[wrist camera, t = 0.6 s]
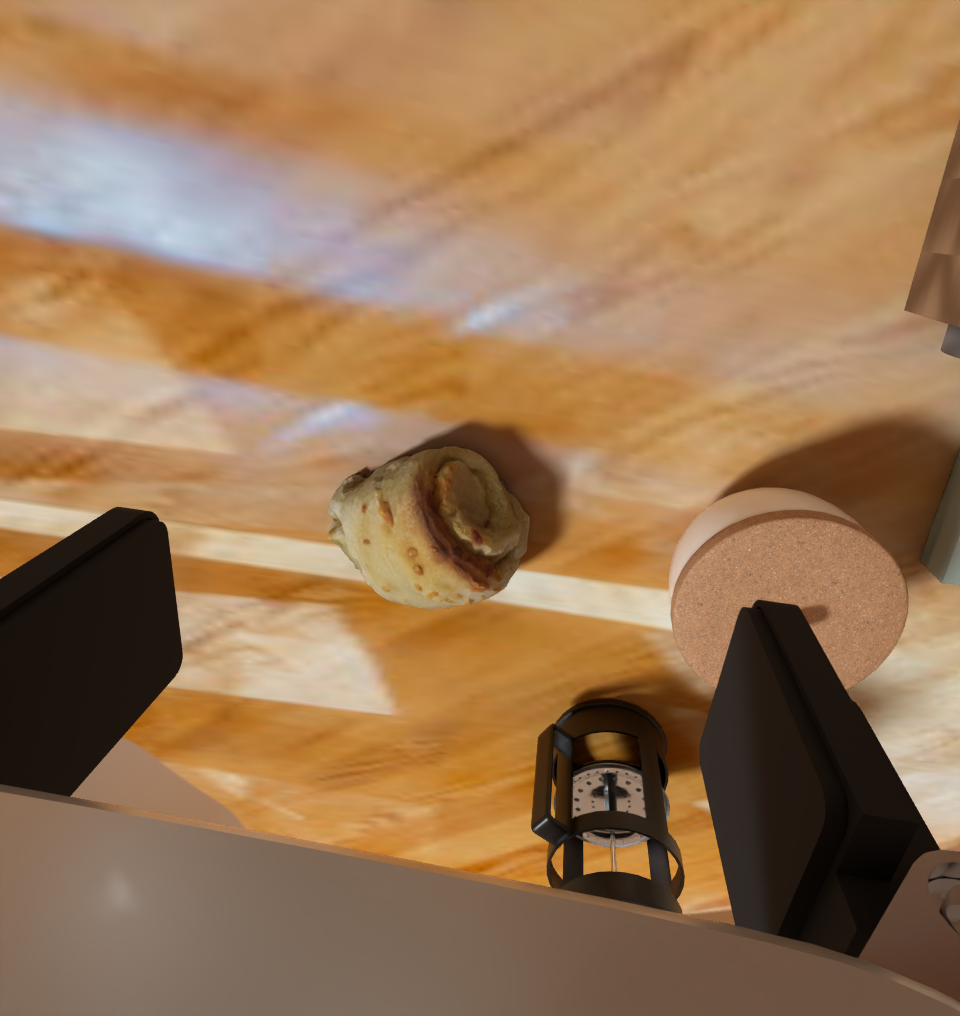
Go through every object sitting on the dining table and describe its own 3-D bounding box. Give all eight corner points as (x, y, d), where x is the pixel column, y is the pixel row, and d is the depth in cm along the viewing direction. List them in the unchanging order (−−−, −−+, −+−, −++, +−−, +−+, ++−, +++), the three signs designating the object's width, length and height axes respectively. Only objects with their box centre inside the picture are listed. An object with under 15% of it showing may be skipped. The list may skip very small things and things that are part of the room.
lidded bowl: (887, 555, 45) (975, 654, 35) (728, 651, 49) (765, 762, 39) (776, 420, 42) (837, 486, 32) (618, 535, 47) (629, 623, 37)
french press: (697, 746, 53) (772, 1088, 33) (620, 807, 57) (643, 1147, 36) (583, 666, 52) (586, 974, 31) (511, 735, 56) (471, 1049, 35)
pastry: (561, 487, 46) (557, 539, 39) (484, 618, 51) (469, 685, 44) (377, 396, 45) (339, 431, 38) (319, 538, 50) (275, 594, 43)
